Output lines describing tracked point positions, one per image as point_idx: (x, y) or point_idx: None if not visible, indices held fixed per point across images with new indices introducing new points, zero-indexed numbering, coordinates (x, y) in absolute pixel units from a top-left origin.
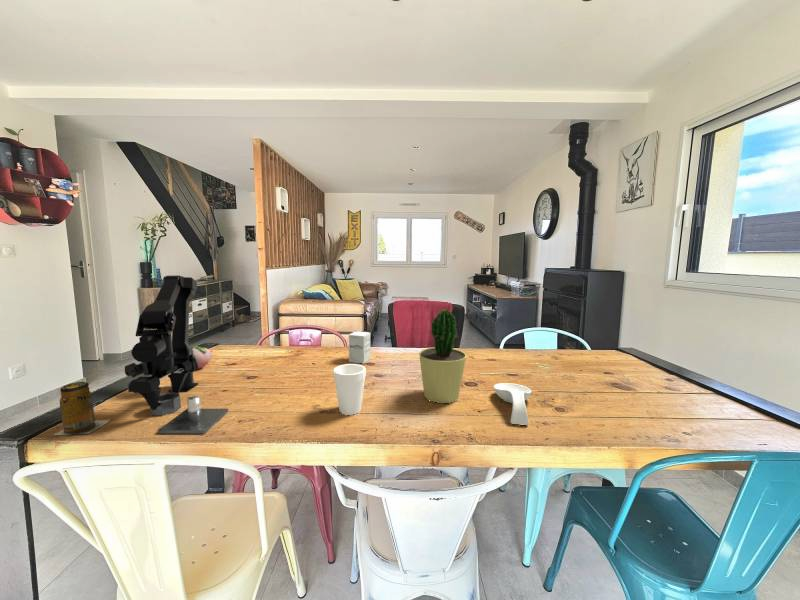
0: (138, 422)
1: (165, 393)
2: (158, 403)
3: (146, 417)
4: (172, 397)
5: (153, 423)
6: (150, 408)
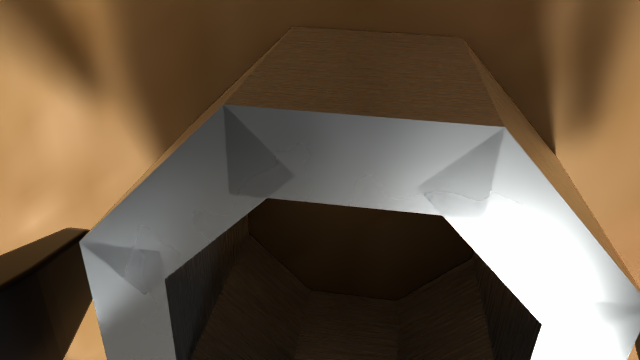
0: (5, 56)
1: (577, 286)
2: (113, 343)
3: (140, 71)
4: (502, 342)
5: (34, 240)
6: (250, 69)
